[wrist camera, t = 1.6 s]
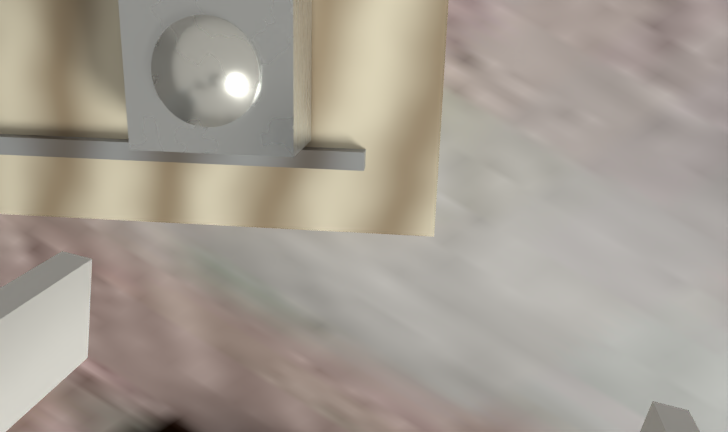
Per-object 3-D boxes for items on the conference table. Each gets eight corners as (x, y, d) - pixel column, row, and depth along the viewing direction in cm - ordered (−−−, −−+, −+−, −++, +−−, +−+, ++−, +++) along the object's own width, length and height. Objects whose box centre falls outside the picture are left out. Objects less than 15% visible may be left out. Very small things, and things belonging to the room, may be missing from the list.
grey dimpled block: (168, 134, 35) (125, 151, 30) (154, -121, 32) (102, -151, 27) (310, 140, 35) (292, 158, 30) (312, -119, 31) (290, -149, 26)
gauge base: (-46, 201, 40) (-173, 247, 31) (-96, -122, 35) (-264, -174, 26) (433, 226, 38) (437, 282, 29) (453, -116, 33) (466, -170, 24)
